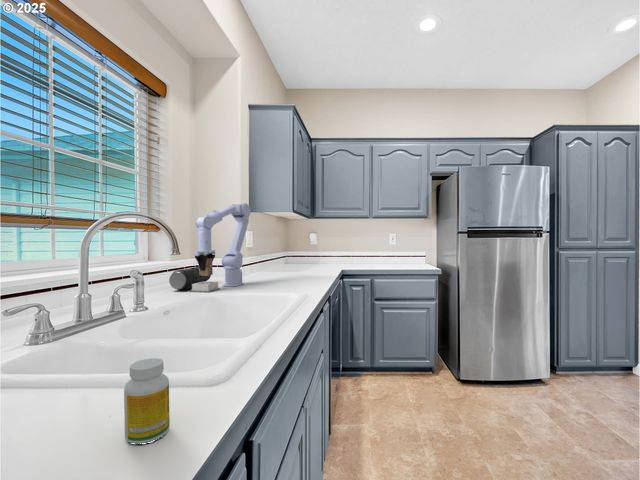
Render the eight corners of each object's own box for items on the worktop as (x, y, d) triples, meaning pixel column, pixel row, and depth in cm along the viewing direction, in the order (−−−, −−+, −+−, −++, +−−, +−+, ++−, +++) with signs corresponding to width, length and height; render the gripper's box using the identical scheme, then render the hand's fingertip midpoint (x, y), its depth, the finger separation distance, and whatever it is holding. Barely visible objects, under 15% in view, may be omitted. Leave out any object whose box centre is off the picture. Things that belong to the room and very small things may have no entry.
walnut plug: (204, 274, 166) (204, 256, 166) (212, 274, 165) (212, 256, 165) (199, 275, 162) (198, 256, 161) (207, 275, 160) (207, 256, 160)
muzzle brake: (211, 283, 187) (211, 265, 187) (187, 292, 159) (186, 270, 159) (195, 283, 188) (194, 265, 188) (167, 292, 160) (167, 270, 160)
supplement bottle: (119, 435, 45) (117, 363, 45) (160, 419, 49) (159, 353, 49) (133, 452, 42) (131, 375, 41) (176, 433, 46) (175, 362, 45)
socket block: (202, 288, 170) (202, 281, 169) (220, 289, 167) (220, 281, 167) (189, 291, 160) (189, 284, 160) (208, 292, 157) (208, 284, 157)
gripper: (203, 242, 155) (204, 271, 155) (220, 241, 169) (221, 268, 169) (190, 242, 157) (190, 271, 157) (208, 241, 171) (208, 268, 171)
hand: (205, 269), depth 163 cm, fingers closed on walnut plug, 4 cm apart
